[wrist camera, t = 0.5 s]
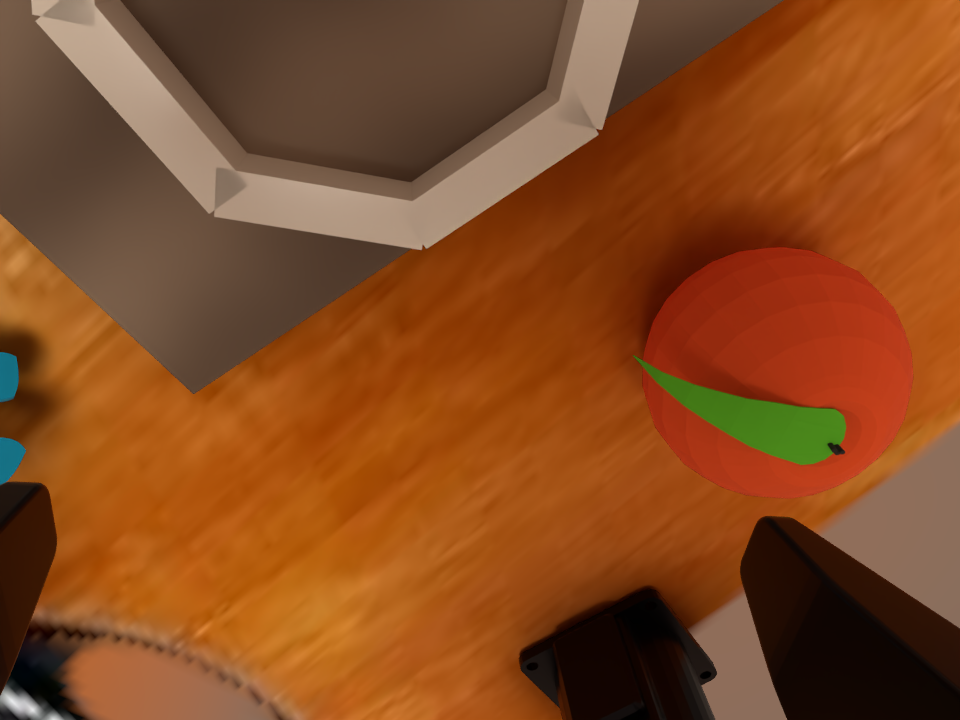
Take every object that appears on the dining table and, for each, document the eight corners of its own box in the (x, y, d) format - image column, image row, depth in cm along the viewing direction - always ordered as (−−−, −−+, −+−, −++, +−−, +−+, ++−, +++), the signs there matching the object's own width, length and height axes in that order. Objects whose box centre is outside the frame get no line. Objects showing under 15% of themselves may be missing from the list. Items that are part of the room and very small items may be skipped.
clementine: (552, 379, 24) (608, 532, 18) (634, 176, 21) (736, 275, 15) (763, 423, 26) (880, 575, 20) (867, 242, 23) (1045, 356, 16)
